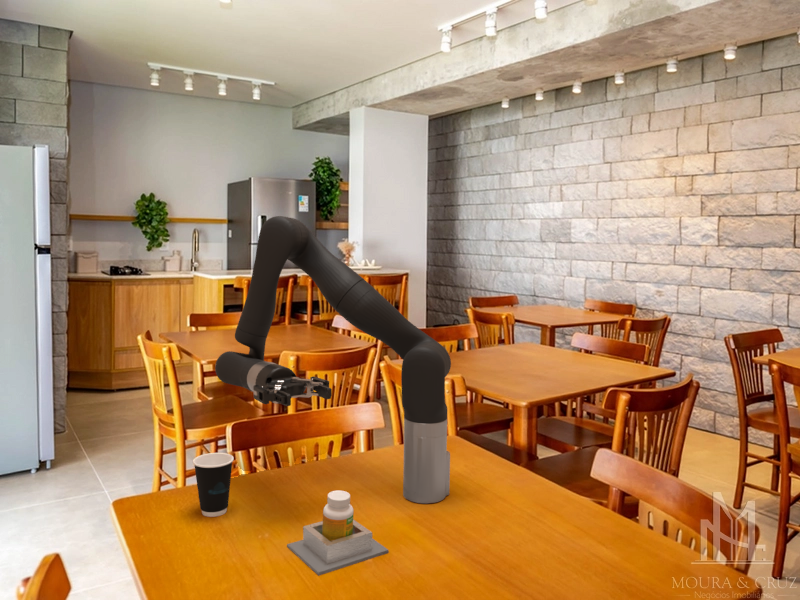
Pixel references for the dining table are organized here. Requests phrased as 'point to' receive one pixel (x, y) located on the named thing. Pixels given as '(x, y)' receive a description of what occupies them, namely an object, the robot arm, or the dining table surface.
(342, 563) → the socket board
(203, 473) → the dixie cup
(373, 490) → the dining table surface
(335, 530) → the supplement bottle
